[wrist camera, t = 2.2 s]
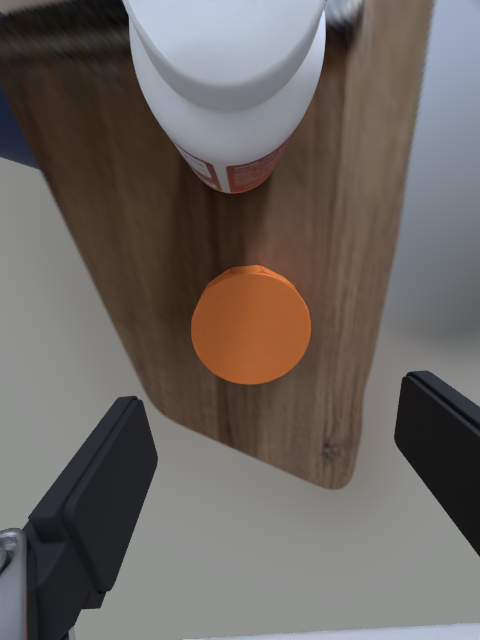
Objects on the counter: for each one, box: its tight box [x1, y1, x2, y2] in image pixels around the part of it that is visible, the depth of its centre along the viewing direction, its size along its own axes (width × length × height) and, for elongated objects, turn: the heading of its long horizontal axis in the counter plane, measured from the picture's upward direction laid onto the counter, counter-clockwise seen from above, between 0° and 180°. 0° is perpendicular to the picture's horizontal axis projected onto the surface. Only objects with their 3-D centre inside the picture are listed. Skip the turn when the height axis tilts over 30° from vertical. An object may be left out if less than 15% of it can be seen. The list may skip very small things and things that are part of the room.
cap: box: [191, 265, 311, 385], centre depth 17 cm, size 8×8×4 cm
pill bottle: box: [123, 0, 327, 193], centre depth 10 cm, size 6×6×11 cm
